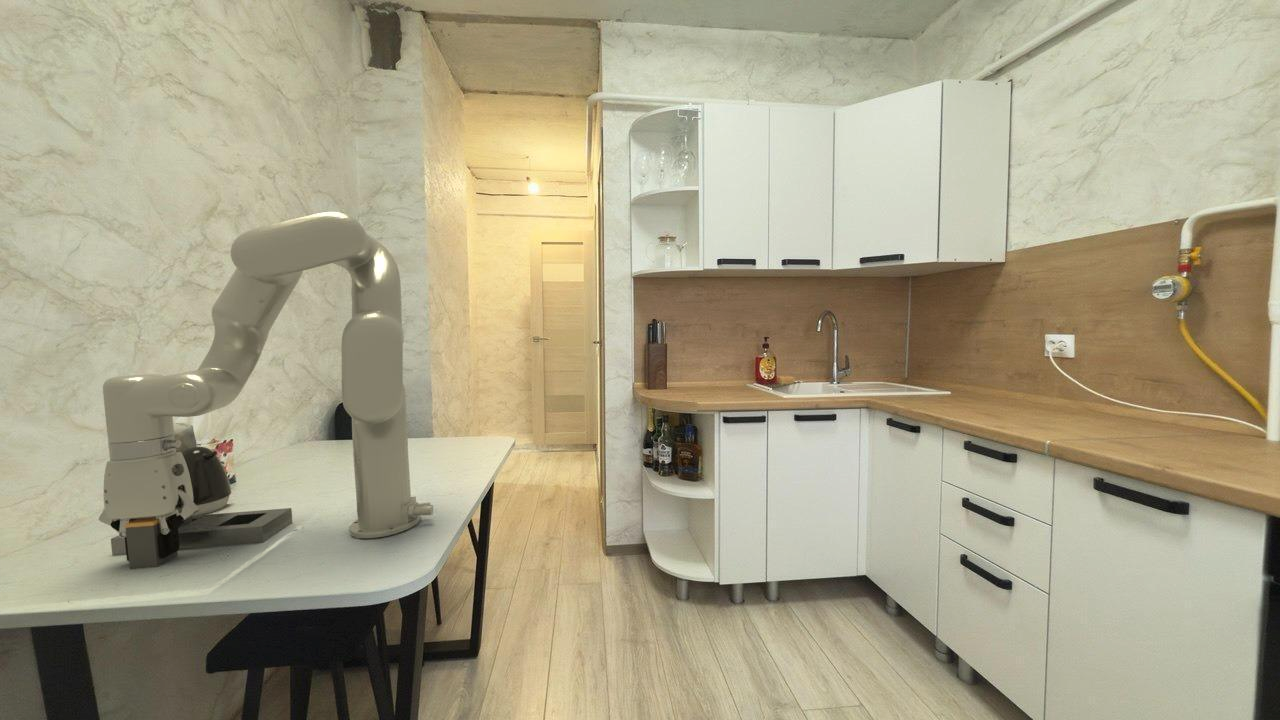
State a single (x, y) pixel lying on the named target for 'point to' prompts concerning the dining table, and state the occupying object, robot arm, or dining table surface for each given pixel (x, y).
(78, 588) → the dining table surface
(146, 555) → the plug
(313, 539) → the dining table surface
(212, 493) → the dark grey dome
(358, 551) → the dining table surface
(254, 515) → the grey slotted tray
